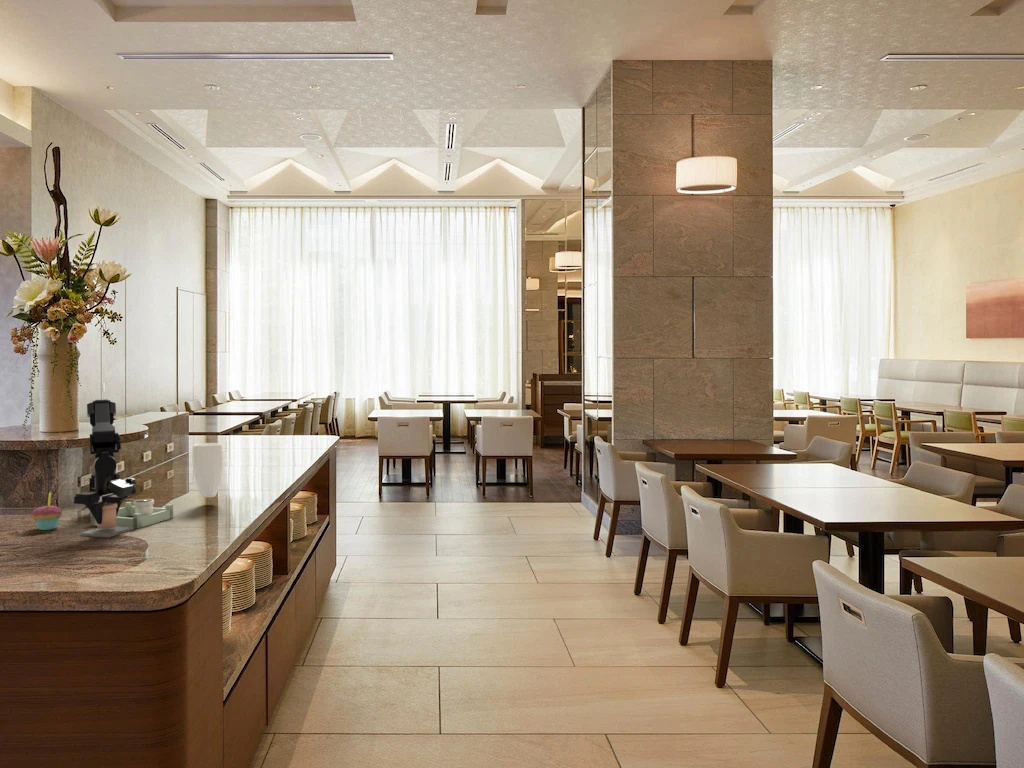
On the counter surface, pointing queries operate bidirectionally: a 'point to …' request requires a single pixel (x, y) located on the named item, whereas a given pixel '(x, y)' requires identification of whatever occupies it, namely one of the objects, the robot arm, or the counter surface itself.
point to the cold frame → (139, 516)
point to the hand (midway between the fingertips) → (106, 522)
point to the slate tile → (106, 531)
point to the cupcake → (46, 516)
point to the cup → (208, 467)
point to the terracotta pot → (108, 516)
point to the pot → (144, 506)
